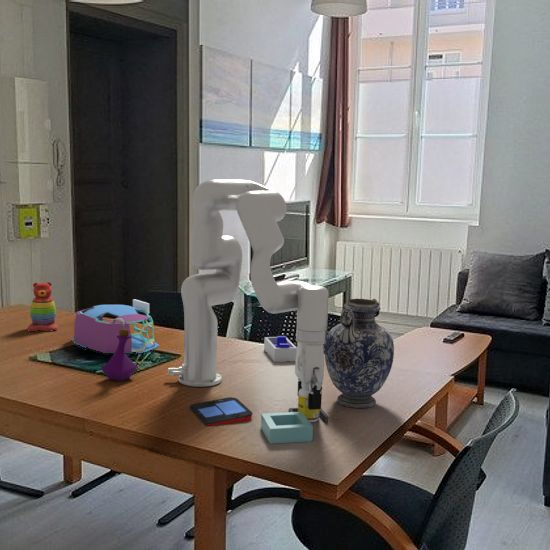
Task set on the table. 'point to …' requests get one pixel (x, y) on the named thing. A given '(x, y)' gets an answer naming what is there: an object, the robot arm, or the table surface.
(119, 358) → the perfume bottle
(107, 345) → the stadium
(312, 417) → the supplement bottle
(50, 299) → the stacking bear
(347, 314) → the decorative vase
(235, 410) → the game console
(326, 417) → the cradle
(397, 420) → the table surface
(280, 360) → the box
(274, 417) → the port
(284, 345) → the cable clip
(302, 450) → the table surface
